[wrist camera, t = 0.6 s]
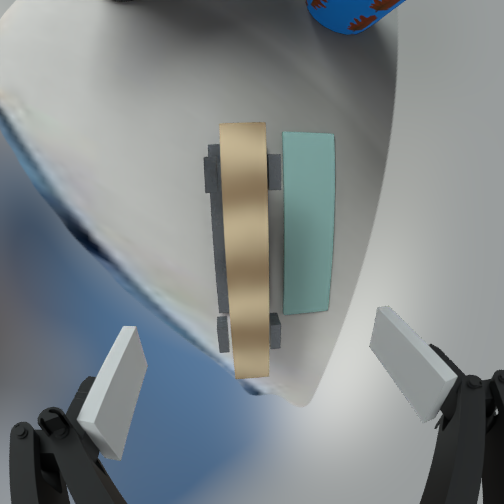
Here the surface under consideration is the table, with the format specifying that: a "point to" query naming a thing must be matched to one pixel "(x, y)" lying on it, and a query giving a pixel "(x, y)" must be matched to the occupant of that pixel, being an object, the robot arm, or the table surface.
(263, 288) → the rail
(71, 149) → the table surface
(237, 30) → the table surface
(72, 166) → the table surface
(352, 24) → the thermos
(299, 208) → the mat
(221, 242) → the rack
